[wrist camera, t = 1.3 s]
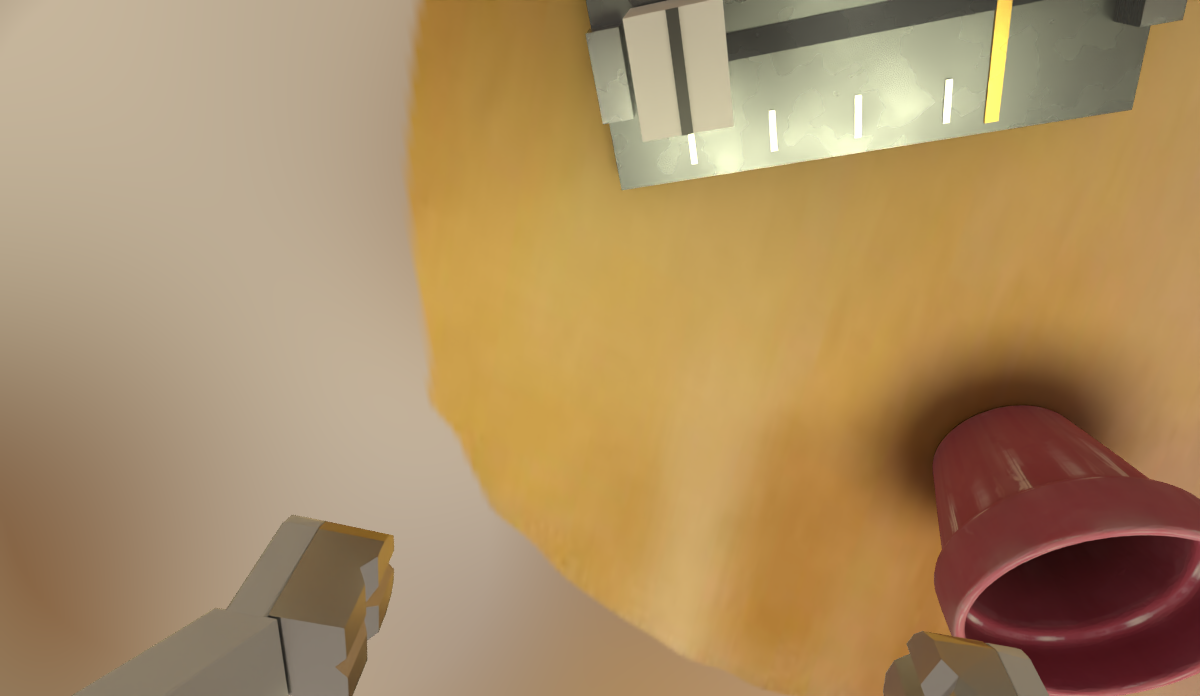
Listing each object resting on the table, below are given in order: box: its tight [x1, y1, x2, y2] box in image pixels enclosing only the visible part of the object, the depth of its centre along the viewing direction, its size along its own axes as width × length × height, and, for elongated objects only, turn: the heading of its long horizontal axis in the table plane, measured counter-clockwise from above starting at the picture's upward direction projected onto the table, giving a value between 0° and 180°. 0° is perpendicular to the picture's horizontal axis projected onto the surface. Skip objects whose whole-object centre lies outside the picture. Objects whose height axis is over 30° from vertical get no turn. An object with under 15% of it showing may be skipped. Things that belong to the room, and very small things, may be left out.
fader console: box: [586, 0, 1187, 190], centre depth 29 cm, size 24×12×4 cm, turn 102°
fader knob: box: [623, 0, 734, 142], centre depth 29 cm, size 4×5×4 cm
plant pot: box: [933, 405, 1200, 696], centre depth 38 cm, size 14×14×13 cm
